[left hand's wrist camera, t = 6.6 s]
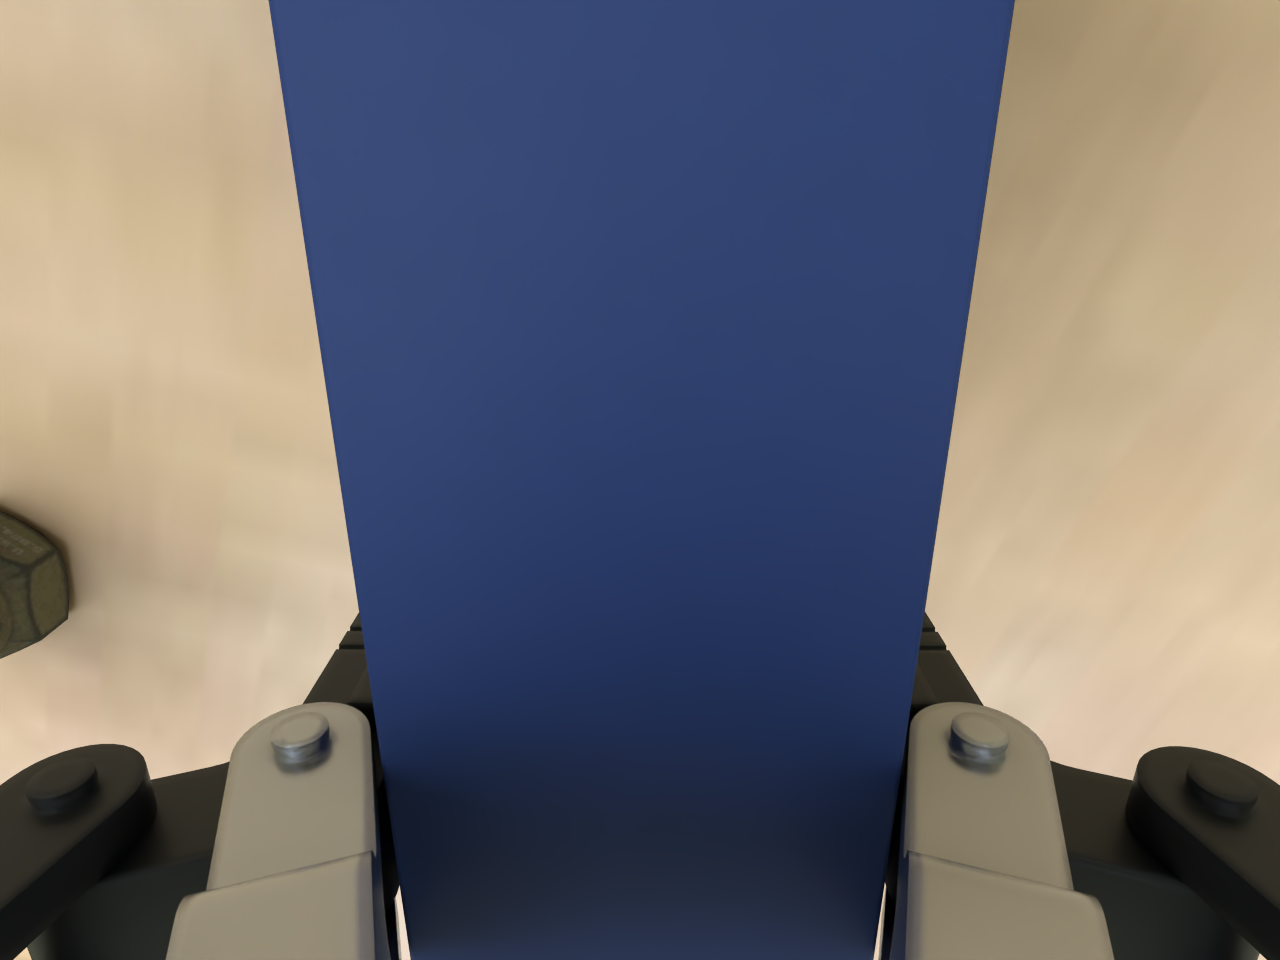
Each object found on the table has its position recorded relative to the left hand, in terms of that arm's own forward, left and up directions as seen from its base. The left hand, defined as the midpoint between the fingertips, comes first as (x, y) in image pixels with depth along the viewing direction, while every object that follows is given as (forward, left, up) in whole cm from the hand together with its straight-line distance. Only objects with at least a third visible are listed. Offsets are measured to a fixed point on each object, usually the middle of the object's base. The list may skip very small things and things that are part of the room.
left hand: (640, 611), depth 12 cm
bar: (-6, +6, -4) cm, 10 cm away
